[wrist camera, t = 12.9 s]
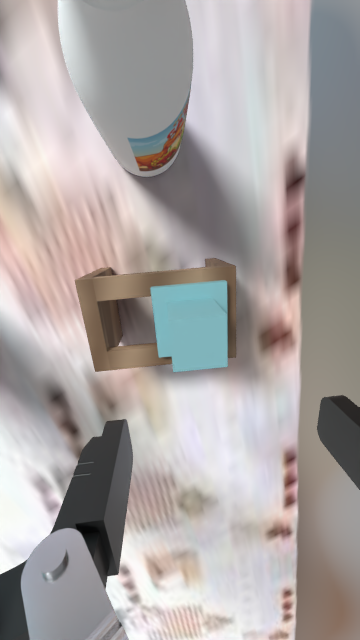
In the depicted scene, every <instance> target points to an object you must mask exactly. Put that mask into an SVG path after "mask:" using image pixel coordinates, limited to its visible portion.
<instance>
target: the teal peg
mask: <svg viewBox="0 0 360 640" xmlns="http://www.w3.org/2000/svg"><path fill="white" fill-rule="evenodd" d="M150 289H151V298H152V306H153V314H154V323H155V331H156V339H157V347H158V356H159V358H160V357H170V356H172V365H173V372H181V371H191V370H201V369H211V368H220V367H228V356H227V351H228V316H227V281H225V280H221V281H209V282H198V283H187V284H176V285H165V286H154V287H151V288H150Z"/></svg>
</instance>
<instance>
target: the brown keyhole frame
mask: <svg viewBox="0 0 360 640" xmlns="http://www.w3.org/2000/svg"><path fill="white" fill-rule="evenodd" d="M205 264H206V267H202V268H191V269H180V270H168V271H157V272H146V273H135V274H124V275H113V276H112V271H111V267H109V268H100V269H98V270H96V271H94V272H92V273H90V274H87V275H85V276H83V277H81V278H79V279H77V280H75V284H76V288H77V293H78V297H79V302H80V306H81V311H82V315H83V319H84V324H85V328H86V333H87V337H88V342H89V346H90V351H91V355H92V359H93V364H94V368H95V372H98V371H108V370H117V369H127V368H137V367H146V366H156V365H166V364H172V356H170V357H160V358H159V356H158V347H157V343H148V344H138V345H128V346H118V345H119V343H120V340H121V338H122V336H123V335H122V329H121V323H120V317H119V312H118V306H117V300H116V299H127V298H138V297H148V296H151V289H150V288H151V287H154V286H165V285H176V284H187V283H198V282H209V281H221V280H225V281H227V316H228V351H227V356H228V358H233V357H236V266H235V265H232V264H229V263H227V262H224V261H221V260H218V259H216V258H211V259H205Z"/></svg>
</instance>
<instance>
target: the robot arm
mask: <svg viewBox="0 0 360 640" xmlns="http://www.w3.org/2000/svg"><path fill="white" fill-rule="evenodd" d="M317 430H318V435H319V437H320V440H321V441H322V443H323V444H324V445H325V447H326V448H327V449H328V451H329V452H330V453H331V455H332V456H333V457H334V458H335V460H336V461H337V462H338V463H339V465H340V466H341V467H342V468H343V469H344V471H345V472H346V473H347V474H348V476H349V477H350V478H351V480H352V481H353V482H354V483H355V485H356V486H357V487H358V488H359V490H360V407H358V406H357V405H355V404H354V403H353V402H352V401H351V400H350V399H348V398H347V397H346V396H343V395H341V396H331V397H324V398H322V400H321V404H320V411H319V418H318V426H317ZM132 464H133V453H132V445H131V440H130V434H129V429H128V423H127V420H126V419H123V420H115V421H107V422H106V424H105V427H104V430H103V434H102V436H100V437H93V438H92V439H91V440H90V441H89V442H88V444H87V445H86V446H85V447H84V449H83V450H82V453H81V456H80V458H79V461H78V466H76V469H75V472H74V474H73V478H72V480H71V482H70V485H69V488H68V490H67V493H66V496H65V498H64V501H63V504H62V506H61V509H60V512H59V514H58V517H57V519H56V522H55V525H54V527H53V529H52V532H51V533H50V535H49V536H47V537H46V538H45V539H44V540H43V541H42V542H41V543H40V544H39V545H38V546H37V547H36V548H35V549H34V551H33V552H32V554H31V555H30V557H29V558H28V559H27V560H26V561H25V562H23V563H22V564H20V565H18V566H16V567H15V568H13V569H11V570H9V571H7V572H5V573H2V574H0V640H129V639H128V637H127V635H126V633H125V630H124V628H123V626H122V624H121V623H120V622H119V620H118V618H117V616H116V614H115V611H114V609H113V607H112V604H111V602H110V600H109V597H108V595H107V593H106V590H105V589H106V582H107V576H112V575H118V573H119V565H120V558H121V550H122V542H123V534H124V527H125V519H126V511H127V504H128V496H129V488H130V480H131V473H132Z"/></svg>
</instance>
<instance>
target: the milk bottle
mask: <svg viewBox="0 0 360 640" xmlns="http://www.w3.org/2000/svg"><path fill="white" fill-rule="evenodd" d="M58 24H59V33H60V40H61V46H62V50H63V55H64V59H65V63H66V66H67V69H68V72H69V75H70V77H71V80H72V83H73V85H74V87H75V90H76V91H77V93H78V95H79V97H80V99H81V101H82V103H83V105H84V107H85V109H86V111H87V113H88V114H89V116H90V118H91V120H92V121H93V123H94V125H95V126H96V128H97V130H98V132H99V133H100V135H101V137H102V138H103V140H104V141H105V143H106V145H107V146H108V148H109V150H110V151H111V153H112V155H113V156H114V157H115V159H116V160H117V162H118V163H119V164H120V165H121V166H122V167H123V168H124V169H126V170H127V171H129V172H130V173H132V174H135V175H138V176H142V177H151V176H155V175H158V174H161V173H162V172H164V171H165V170H167V169H168V168H169V167H170V166H171V165H172V164H173V162H174V161H175V159H176V157H177V155H178V153H179V150H180V146H181V142H182V137H183V132H184V126H185V121H186V115H187V109H188V103H189V97H190V90H191V81H192V72H193V39H192V31H191V23H190V18H189V13H188V9H187V6H186V2H185V0H58Z"/></svg>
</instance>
